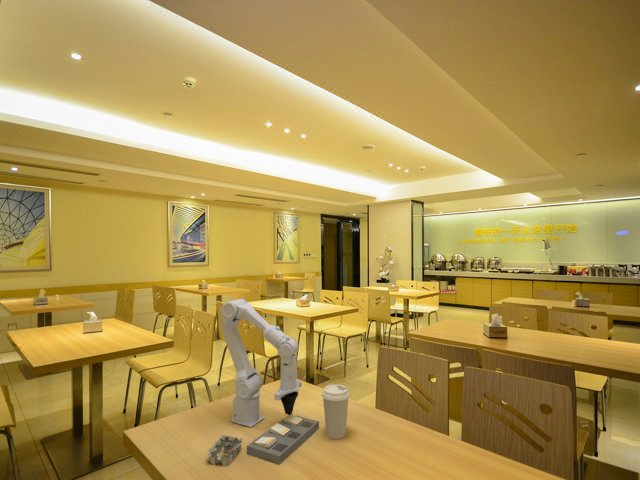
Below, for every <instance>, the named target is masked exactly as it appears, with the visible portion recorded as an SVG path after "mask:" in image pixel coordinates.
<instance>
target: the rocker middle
mask: <svg viewBox="0 0 640 480" xmlns="http://www.w3.org/2000/svg"><path fill="white" fill-rule="evenodd" d="M270 428H271V429H270ZM270 428H269V429H270V432H271V433H273V434H276V435H279V436H283V437H284V436H285V435H287V434H288V433H289V432H290V429H288V428H286V427H284V426H282V425H281V424H279V422H277V423H275V425H273V426H272V427H270Z"/></svg>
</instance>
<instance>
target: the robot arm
mask: <svg viewBox="0 0 640 480" xmlns="http://www.w3.org/2000/svg"><path fill="white" fill-rule="evenodd" d="M219 313H220V316H221V317H220V318H221V320H220V329H221V331H222V335H223V336H224V340H225V343H226V346H227V348H228V351H229V354H230V356H231V359H232V362H233V365H234V369H235V371H236V375H235V378H234V381H235V393H236V395H235V396H234V397H233V400H232V419H230V422H231V423H234V424H239V425H241V426H245V427H249V428H252V427H253V426H255V425H257V424H258V423H259V422H261V421H262V420H264V419H265V416H264V415H260V403H261V402H260V393H261V391H260V389H261V388H262V387H263V385H264V381H263V378H262V376H261V375H260V374H259V373H258V370H257V369H256V368H255V367H254V366H253V365H251V364H252V363H251V362H250V358H249V356H248V354H247V351H246V347H245V345H244V341H243V339H242V337H241V334H240V332H239V331H240V330H239V328H238V324H240V323H239V322H240V321H241V320H247V321H248V322H249V323H251V324H252V325H254V326H255V327H256V328H257V329H258V330H260V332H262V334H263V338H264V339H265V340H266V341H267V342H268V343H270V344H271V346H273V347H274V348H275V349H276V350H277V354H278V356H279V357H280V376H279V377H280V386H279V388H277V391H276V392H275V393H274V395H273V397H274V399H273V400H275V401H280V402H281V404H282V406H283V410H284V414H285V415H287V416H288V415H291V414H293V411H294V406H295V403H296V400H297V397H298V396H299V391H300V388H301V387H303V385H302V383H303V381H302V380H298V379H297V378H298V377H297V376H298V371H297V368H298V367H297V365H298V363H297V362H298V360H297V357H298V356H297V353H298V351H299V350H300V349H299V348H300V345H299V343H298V341H297V340H296V338H293V337H290V335H287V334H285V333H284V331H282V330H281V327H280V326H279V325H278V326H277V325H276V324H275V325H274V324H271V325H270V324H269V323H268V322H267V321H266V320H265V319H264V318H263V317H262V316H261V314H259V313H258V312H257V311H256V309H254V307H253V306H252V304H251V303H249V302H248V301H247V300H246V299H245V298H238V299H234V300H228V301H225V302H224V303H223V304H222V306H221V308H220V310H219Z"/></svg>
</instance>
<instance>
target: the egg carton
mask: <svg viewBox="0 0 640 480" xmlns="http://www.w3.org/2000/svg"><path fill="white" fill-rule="evenodd" d="M242 443H243V438H240V439H239V438H238V436H236V437H235V436H230V435H229V436H227V435H225V434H221V436H220V438H219V439H218V440H217V441H215V442H214V444H213V445H212V447H211V448H209V449H208V450H207V456H208V457H209V462H210V463H211V465H213V466H215V465H216V464H222V466H223V467H224V466H225V467H226V466H227V465H231V464H232V463H233V459H234V458H236V456H237V455H238V454H237V453H238V452H240V451H241V450H242V449H241V448H242V447H241V445H242ZM222 449H223V452H224V454H223V455H218V454H220V453H222Z"/></svg>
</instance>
